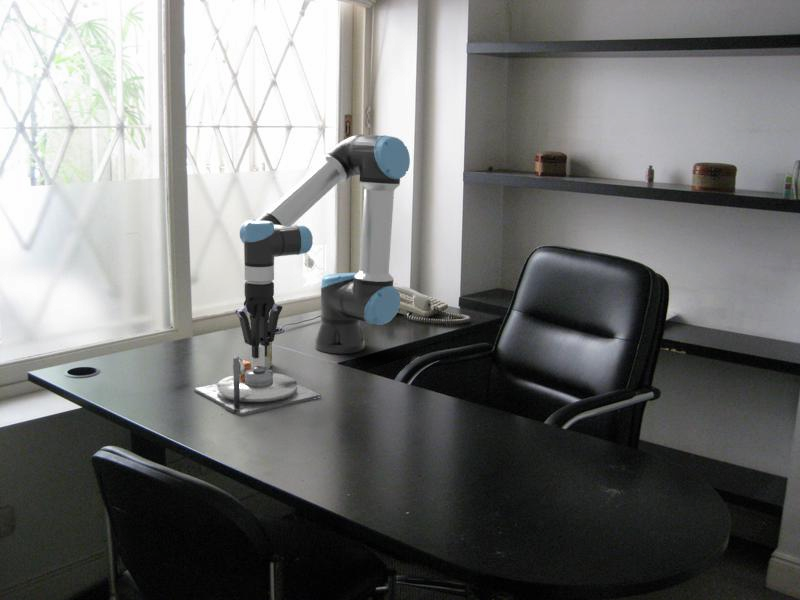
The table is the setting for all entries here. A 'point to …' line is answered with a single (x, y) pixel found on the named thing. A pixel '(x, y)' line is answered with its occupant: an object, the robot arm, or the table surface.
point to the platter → (278, 390)
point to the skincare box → (268, 356)
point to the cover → (258, 377)
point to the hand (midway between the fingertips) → (259, 369)
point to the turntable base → (255, 407)
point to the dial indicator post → (236, 385)
